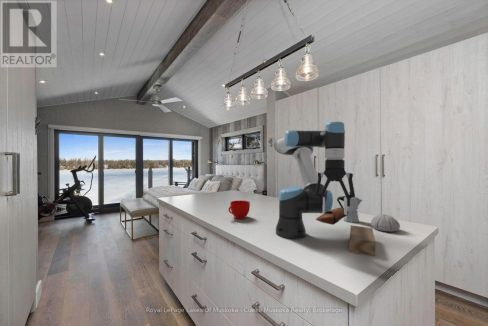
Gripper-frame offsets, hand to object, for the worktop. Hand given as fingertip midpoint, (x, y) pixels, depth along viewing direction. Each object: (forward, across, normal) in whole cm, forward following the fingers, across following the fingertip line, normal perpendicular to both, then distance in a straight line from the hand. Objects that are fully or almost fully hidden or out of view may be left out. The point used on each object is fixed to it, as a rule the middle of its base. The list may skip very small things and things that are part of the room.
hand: (334, 213), depth 88 cm
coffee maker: (+15, +14, +49) cm, 53 cm away
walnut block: (+16, +12, +9) cm, 22 cm away
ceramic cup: (+15, -54, +34) cm, 66 cm away
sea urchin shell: (+15, +30, +37) cm, 50 cm away
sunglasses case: (+3, -1, +2) cm, 3 cm away
